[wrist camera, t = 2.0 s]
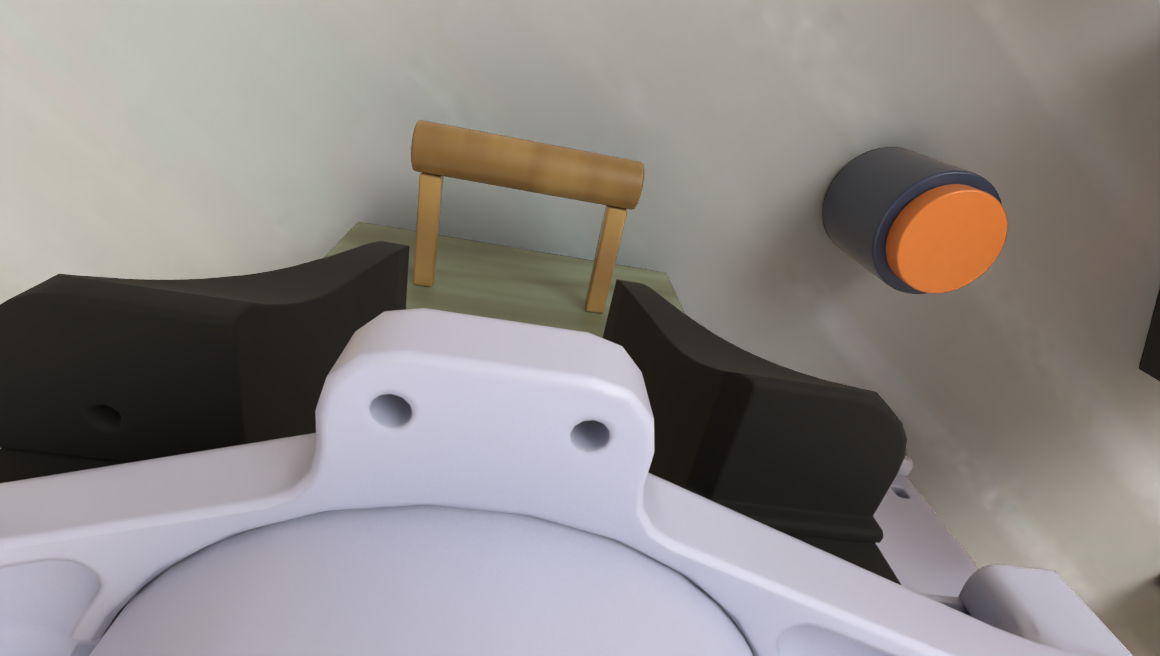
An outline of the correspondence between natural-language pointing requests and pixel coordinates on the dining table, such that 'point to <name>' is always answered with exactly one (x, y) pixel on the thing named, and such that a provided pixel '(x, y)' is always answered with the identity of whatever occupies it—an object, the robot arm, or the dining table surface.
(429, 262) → the drawer
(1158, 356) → the cleaning product box
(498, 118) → the dining table surface
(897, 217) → the navy jar orange lid
